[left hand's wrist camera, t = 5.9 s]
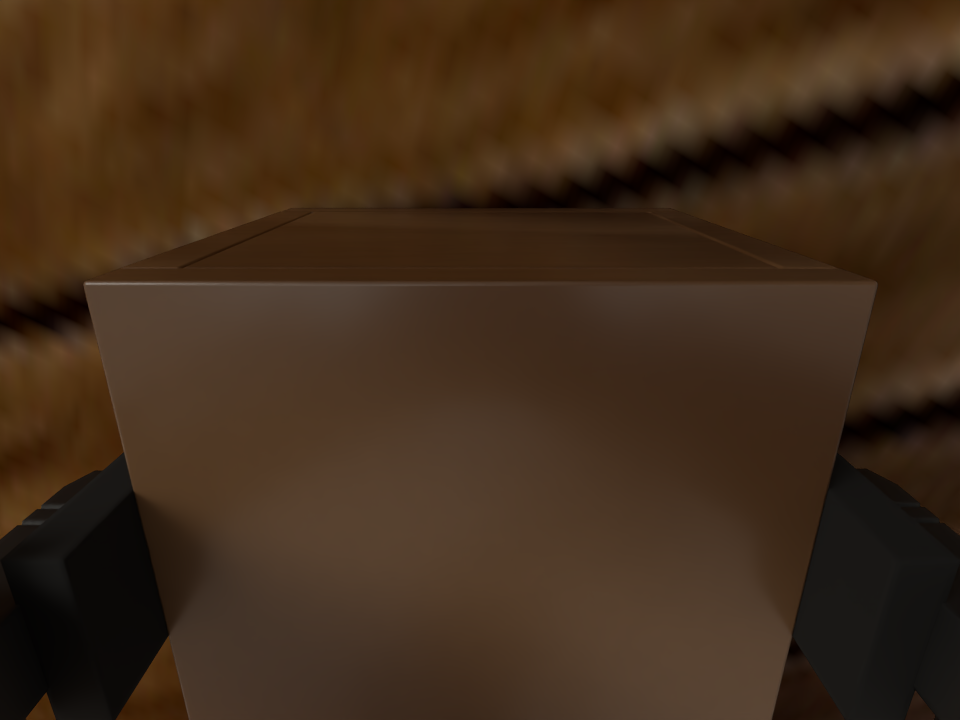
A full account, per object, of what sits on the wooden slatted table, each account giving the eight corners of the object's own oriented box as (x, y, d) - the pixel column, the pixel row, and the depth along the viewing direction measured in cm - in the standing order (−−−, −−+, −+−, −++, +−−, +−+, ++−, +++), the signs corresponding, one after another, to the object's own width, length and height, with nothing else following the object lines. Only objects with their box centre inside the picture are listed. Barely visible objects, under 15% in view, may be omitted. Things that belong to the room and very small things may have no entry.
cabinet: (610, 756, 22) (681, 1095, 14) (350, 756, 22) (278, 1093, 14) (672, 208, 15) (881, 281, 7) (288, 207, 15) (79, 280, 7)
